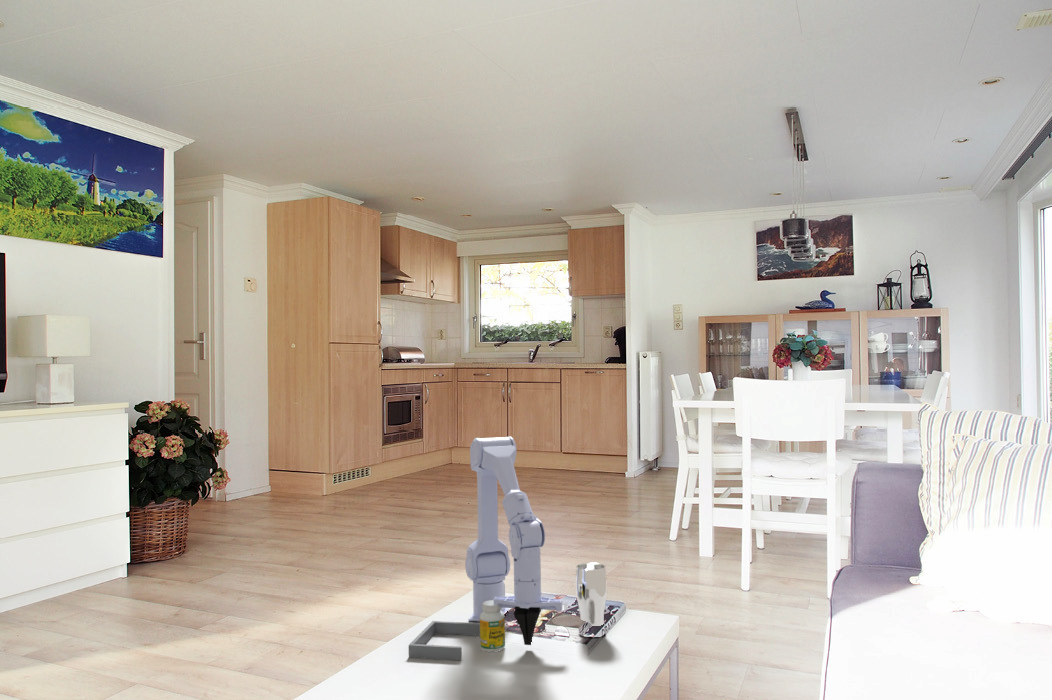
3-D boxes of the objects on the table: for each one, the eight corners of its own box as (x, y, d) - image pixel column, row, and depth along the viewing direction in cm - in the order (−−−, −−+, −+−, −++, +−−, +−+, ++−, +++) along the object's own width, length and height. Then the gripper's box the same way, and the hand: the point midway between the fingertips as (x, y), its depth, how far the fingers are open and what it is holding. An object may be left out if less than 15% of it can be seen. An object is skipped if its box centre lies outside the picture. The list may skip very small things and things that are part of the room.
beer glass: (607, 628, 169) (606, 562, 170) (608, 639, 163) (606, 570, 163) (577, 628, 170) (575, 562, 171) (576, 638, 163) (574, 570, 164)
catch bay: (432, 632, 169) (432, 620, 169) (480, 634, 167) (480, 623, 167) (408, 657, 154) (408, 645, 154) (460, 660, 152) (460, 648, 152)
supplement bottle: (496, 642, 162) (496, 597, 163) (510, 649, 158) (509, 603, 158) (475, 647, 159) (474, 601, 160) (488, 654, 155) (487, 608, 155)
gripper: (489, 582, 155) (490, 648, 155) (558, 584, 152) (559, 652, 152) (497, 573, 162) (498, 636, 161) (563, 575, 159) (564, 640, 159)
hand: (528, 643), depth 157 cm, fingers closed
